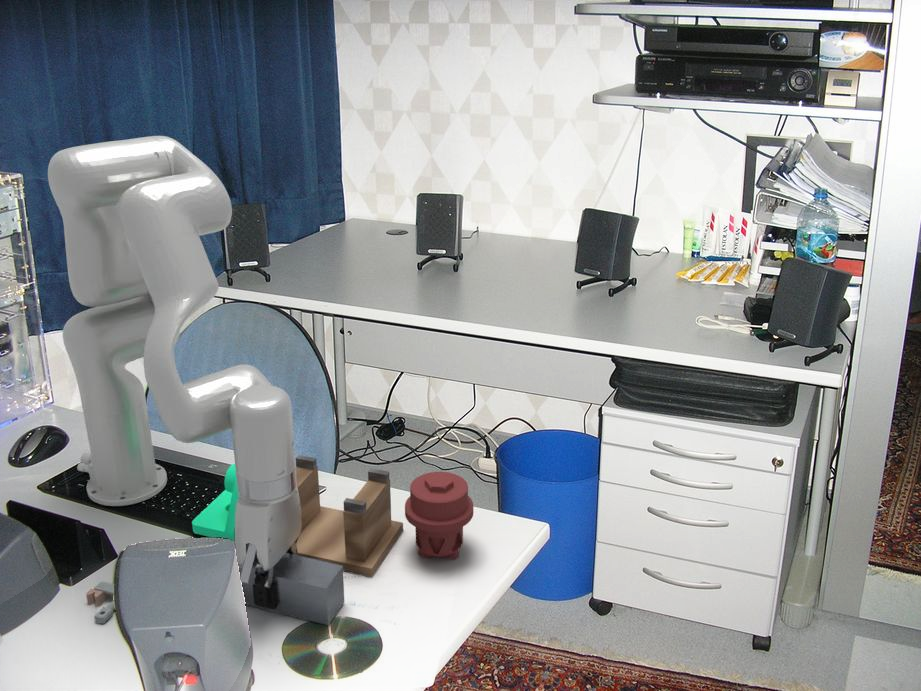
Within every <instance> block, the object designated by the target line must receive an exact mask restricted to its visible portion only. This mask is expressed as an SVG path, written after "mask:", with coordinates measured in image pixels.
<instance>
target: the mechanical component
mask: <svg viewBox="0 0 921 691" xmlns="http://www.w3.org/2000/svg"><path fill="white" fill-rule="evenodd" d="M409 493H410V494H409V495H410V496H409V497H407V499H406V501H405V504H404V516H405V518H406V520H407V522H408V523H410V524H411V525H412V526H413V527H415V545H416V547H417V554H418V556H419V557H420V558H431V557H432V558H434V557H436V558H438V557H439V558H446V559H449V560H457V559H458V558H459V556H460V549H461V548H462V547H463V543H464V527H465V526H466V525H468V524H469V523H470V522H471V521H472V519H473V517H474V502H473V500H472V498H471V497H470V496H469V485H468V482H467V481H466V480H465V478H463V477H462V476H460V475H458V474H456V473H452V472H447V471H431V472H427V473H424V474H421V475H418V476H417V477H416V478H414V479H413V480H412V481H411V483H410V488H409Z"/></svg>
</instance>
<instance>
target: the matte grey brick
mask: <svg viewBox="0 0 921 691" xmlns="http://www.w3.org/2000/svg"><path fill="white" fill-rule="evenodd" d="M233 542H234V545H235V541H234V540H233ZM235 548H236V545H235ZM238 566H239V572H240V577H241V573H242V569H243V566H244V565H243V566H242V565H238ZM258 575H260V576H263V577H265V571H264V569H261V568H258ZM344 581H345V580H344V571H343V566H341V565H337V564H333V563H328V562H324V561H320V560H315V559H311V558H307V557H302V556H298V555H294V554H289V553H285V554H284V555H283V556H282V558H281V559H280V560H279V561H278V562H277V563H276V564H275V566H274V567H273V580H272V583H275V584H276V596H277V607H276V608H275V609H269V608H265V607H261V606H257V605H255V603H254V595H253V585H252V584H247V583H243V582H242V587H243V592H244V597H245V602H246V604H245V606H246V605H248V606H250V607H255V608H259V609H263V610H266V611H270V612H274V613H278V614H282V615H286V616H289V617H295V618H298V619H302V620H306V621H309V622H314V623H318V624H320V625H321V624H322V625H325V626H329V625H330V624H331V622H332V621H333V619H334V618H335V616H336V615H337V613H338V612H339V610H340V609H341V608H342V606H343V605H344V604H345V586H344V585H345V584H344Z"/></svg>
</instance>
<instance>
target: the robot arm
mask: <svg viewBox="0 0 921 691" xmlns="http://www.w3.org/2000/svg"><path fill="white" fill-rule="evenodd" d="M47 179H48V186H49V188H50V191H51V194H52V198H53V199H54V201H55V203H56V206H57V207H58V210H59V213H60V215H61V217H62V223H63V233H64V243H65V253H66V254H65V255H66V264H67V273H68V274H67V276H68V283H69V287H70V290H71V293H72V296H73V297H74V299H75V300H76V302H78V303H79V304H81V305H83V306H85V307H89V308H88V309H86V310H83V311H80V312H78V313H76V314H75V315H74V314H73V315H72V317H70V318H69V319H68V320H67V321H66V323H65V324H64V326H63V329H62V339H63V340H62V341H63V346H64V347H65V350H66V354H67V356H68V359H69V361H70V363H71V366H72V369H73V372H74V375H75V379H76V383H77V386H78V392H79V398H80V402H81V406H82V407H81V408H82V412H83V417H84V424H85V428H86V434H87V435H86V436H87V439H88V440H87V441H88V445H89V451H90V453H88V452H83V453H82V454H81V456H80V458H79V459H80V460H79V461H80V462H79V463H78V465H77V466H76V467H77V468H76V469H77V471H79V472H82V473H83V472H84V473H88V474H89V478H90V479H89V480H88V481H87V484H86V492H87V493H86V494H87V497H89V499H90V500H91V501H92V502H94V503H97V504H99V505H101V506H106V507H107V506H109V507H124V506H130V505H131V506H132V505H135V504H138V503H142V502H144V501H146V500H149V499H151V498H153V497H155V496H157V495H158V494H159V493H160V492H161V491H162V490H163V489H164V488H165V487H166V485H167V482H168V476H167V475H168V474H167V471H166V470H165V468H164V467H163V466H161V464H157V463H156V460H155V452H154V445H153V439H152V431H151V425H150V419H149V413H148V412H149V411H148V406H147V398H146V393H145V388H144V385H143V383H142V382H141V380H140V379H139V377H138V376H136V375H135V374H134V373H133V372H131V371H129V370H128V369H126V365H127V364H129V363H131V362H132V363H133V362H134V361H136V360H140V359H143V372H144V377H145V382H146V384H147V388H148V390H149V393H150V395H151V397H152V400H153V402H154V404H155V408H156V410H157V413H158V415H159V418H160V419H161V421H162V423H163V425H164V427H165V429H166V430H167V432H168V433H169V434H170V435H171V437H173V438H174V439H175V440H176V441H179V442H181V443H184V444H185V443H186V444H193V443H197V442H201V441H203V440H207V439H208V438H211V437H213V436H216V435H218V434H220V433H224V432H226V431H228V430H231V436H232V447H233V455H234V456H233V457H234V464H235V468H236V478H237V488H238V495H239V498H238V500H237V505H236V514H235V545H236V556H237V562H238V565H242V566H243V565H244V566H243V569H242V573H241V577H240V580H241V582H243V583H247V584H252V585H253V595H254V603H255V605H257V606H261V607H265V608H269V609H275V608H276V607H277V596H276V584H275V583H272V580H273V567H274V566H275V564H276V563H277V562H278V561H279V560H280V559H281V558H282V556H283V555H284V554H285V553H289V554H294V555H297V552H298V549H297V546H296V543H297V539H298V538H299V537H298V536H299V535H300V533H301V528H302V518H301V507H300V499H299V493H298V488H297V479H296V455H295V454H296V453H295V438H294V425H293V424H294V423H293V411H292V410H293V409H292V408H293V406H292V402H291V397H290V395H289V394H288V393H287V392H286V391H285V390H284V389H282V388H280V387H278V386H274V385H273V384H272V383H270V382H269V380H268V379H267V378H266V377H265V376H264V374H263V373H262V372H261V371H260V370H259V369H258V368H257V367H255V366H253V365H250V364H247V363H246V364H244V363H243V364H237V365H235V366H234V365H233V366H231V367H228V368H226V369H222V370H220V371H217V372H213V373H210V374H207V375H203V376H201V377H198V378H195V379H192V380H190V381H188V382H187V381H186V382H182V381H181V378H180V375H179V373H178V370H177V366H176V365H177V364H176V362H175V345H176V344H177V342H178V341H179V337H180V334H181V329H182V327H183V326H184V325H185V323H186V322H187V320H189V318H191V316H193V315H194V314H195V313H196V312H197V311H199V310H200V309H201V308H203V306H205V305H206V304H208V303H209V302H210V301H211V300H212V299H213V298H215V296H216V295H217V293H218V291H219V283H218V280H217V277H216V274H215V273H214V270H213V267H212V265H211V262H210V260H209V257H208V254H207V253H206V249H205V247H204V245H203V242H202V240H201V237H200V236H205V235H209V234H213V233H218V232H221V231H223V230H224V229H226V228H228V226H229V225H230V223H231V219H232V215H233V208H232V206H233V205H232V202H231V198H230V195H229V193H228V191H227V189H226V187H225V185H224V184H223V182H222V180H220V178H219V177H218V176H217V174H216V173H214V171H213V170H212V169H211V168H210V167H209V166H208V165H207V164H205V162H203V161H202V160H201V159H199V158H198V157H197V156H196V155H194V154H193V153H192V152H191V151H190V150H189V149H187V148H186V147H185V146H184V145H182V144H181V143H180V142H179V141H178V140H175V139H174V138H171V137H169V136H166V135H152V136H151V135H149V136H143V137H142V136H141V137H135V138H129V139H122V140H120V139H119V140H113V141H112V140H111V141H104V142H97V143H90V144H82V145H78V146H77V145H76V146H72V147H67V148H65V149H61V150H59V151H57V152H56V153H55V154H54V155H52V156H51V158H50V161H49V163H48V168H47ZM90 307H91V308H90ZM258 568H261V569H264V571H265V577H263V576H260V575H258Z"/></svg>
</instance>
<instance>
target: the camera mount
mask: <svg viewBox="0 0 921 691" xmlns="http://www.w3.org/2000/svg"><path fill="white" fill-rule="evenodd" d="M223 484H224V488H225V489H224V490H223V491H222V492H221V493H220V494H219V495H218V496H217V497H216V498H215V499H214V500H213V501H212V502H210V504H208V506H206V507H205V508H204V509H203V510H202V511H201V512H200V513H199V514H198V515H197V516H196V517H195V518H194V519H193V520H192V521H191V525H192V532H193V533H194V534H195V535H199V536H205V537H209V538H213V537H222V538H228V539H232V540H234V541H235V514H236V505H237V500H238V498H239V495H238V488H237V478H236V468H235V463H232V464H231V465H229V467H228V468H227V471H226V473H225V476H224V482H223Z"/></svg>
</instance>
